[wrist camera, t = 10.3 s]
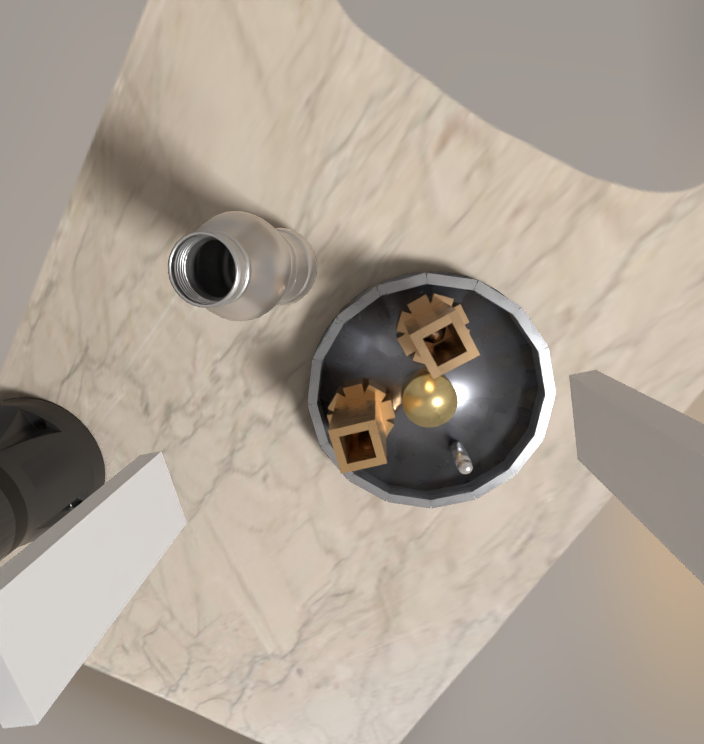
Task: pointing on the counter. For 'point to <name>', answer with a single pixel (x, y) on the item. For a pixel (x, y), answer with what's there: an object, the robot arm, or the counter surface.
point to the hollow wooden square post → (360, 424)
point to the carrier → (439, 392)
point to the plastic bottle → (241, 266)
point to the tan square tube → (430, 319)
